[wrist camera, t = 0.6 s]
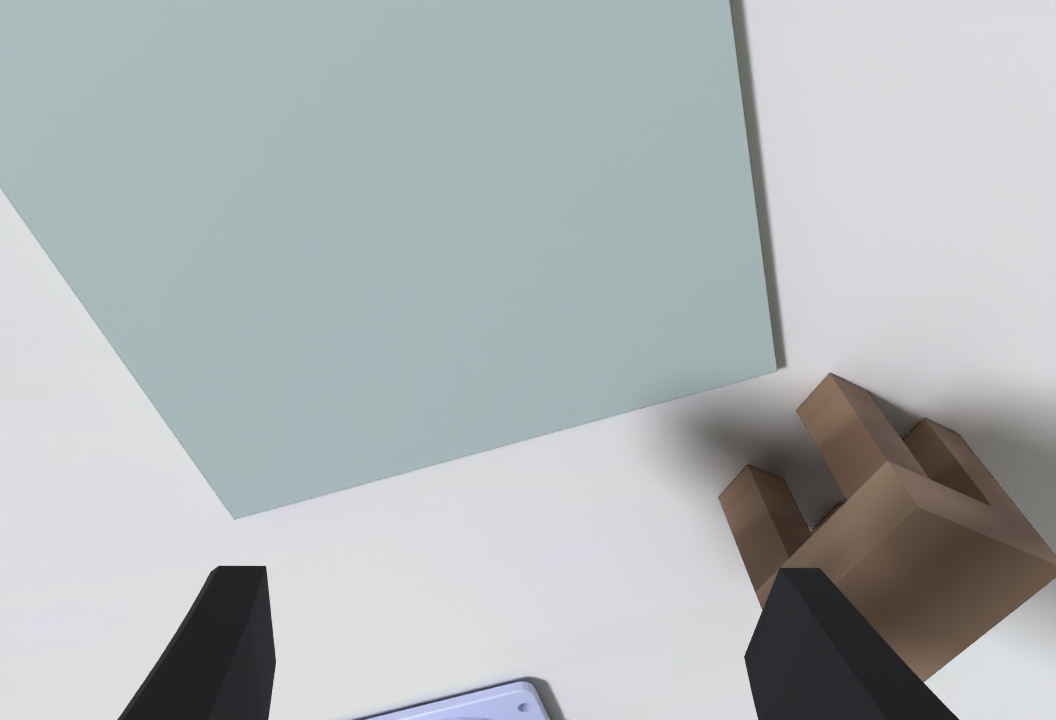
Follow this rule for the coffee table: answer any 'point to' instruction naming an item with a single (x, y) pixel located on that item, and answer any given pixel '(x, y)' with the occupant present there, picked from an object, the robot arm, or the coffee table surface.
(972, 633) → the walnut stool
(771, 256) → the coffee table surface
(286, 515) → the coffee table surface
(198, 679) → the robot arm
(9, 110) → the sage board
